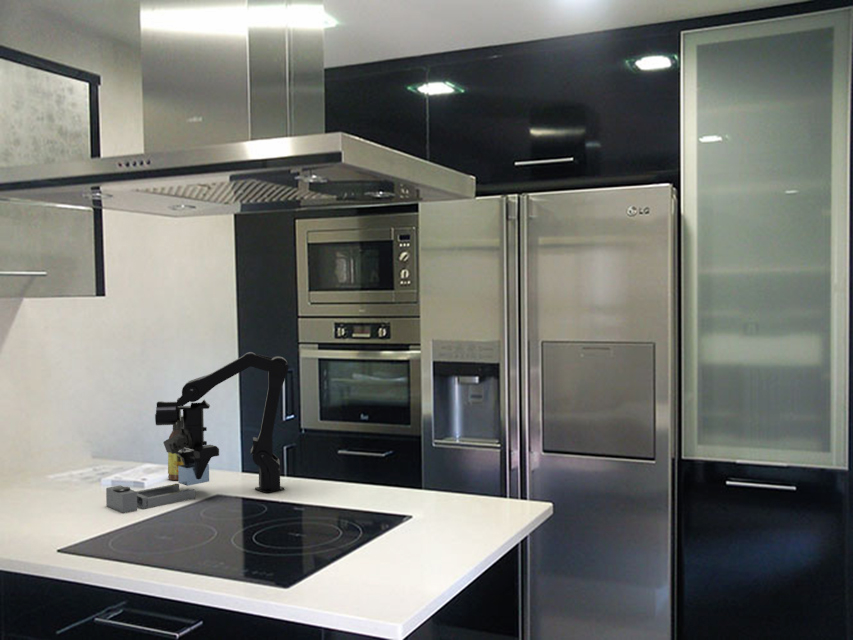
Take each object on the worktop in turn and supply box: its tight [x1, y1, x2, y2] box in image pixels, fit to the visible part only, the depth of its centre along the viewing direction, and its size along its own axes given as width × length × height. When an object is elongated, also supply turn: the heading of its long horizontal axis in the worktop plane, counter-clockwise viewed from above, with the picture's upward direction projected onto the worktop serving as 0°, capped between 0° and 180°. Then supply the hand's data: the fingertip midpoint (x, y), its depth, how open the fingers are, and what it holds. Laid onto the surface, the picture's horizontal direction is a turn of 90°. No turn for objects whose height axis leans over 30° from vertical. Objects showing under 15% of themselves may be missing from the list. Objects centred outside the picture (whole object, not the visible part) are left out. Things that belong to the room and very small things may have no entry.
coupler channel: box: [105, 483, 196, 514], centre depth 220 cm, size 11×21×5 cm, turn 136°
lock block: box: [178, 463, 210, 487], centre depth 229 cm, size 5×7×5 cm
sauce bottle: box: [167, 414, 184, 481], centre depth 248 cm, size 6×6×20 cm
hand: (194, 477), depth 229 cm, fingers closed on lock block, 5 cm apart
